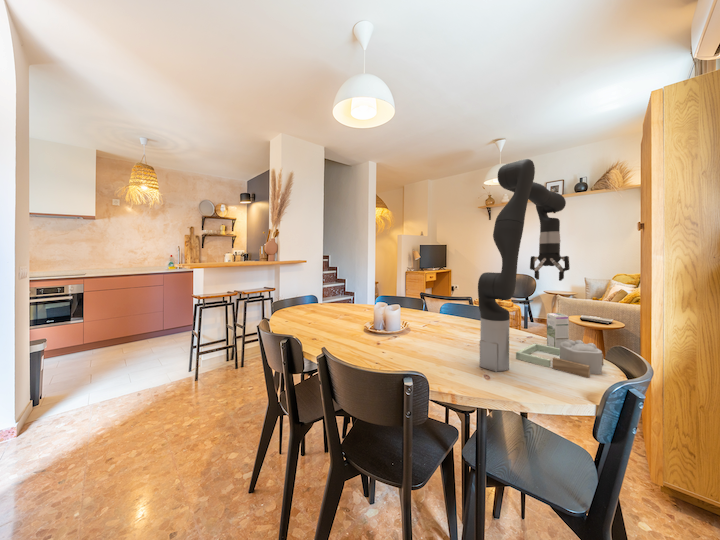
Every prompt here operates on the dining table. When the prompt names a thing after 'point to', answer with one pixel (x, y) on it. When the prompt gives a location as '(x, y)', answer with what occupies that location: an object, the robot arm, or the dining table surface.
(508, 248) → the robot arm
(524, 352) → the green rectangular frame
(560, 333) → the syrup box
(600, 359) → the lumpy-topped squat cylinder
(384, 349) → the dining table surface
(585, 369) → the chute
